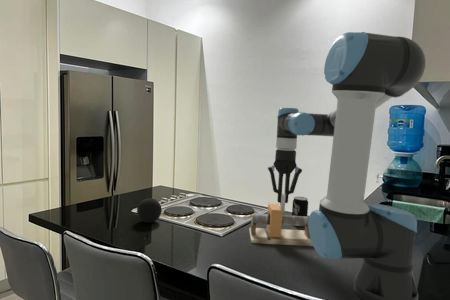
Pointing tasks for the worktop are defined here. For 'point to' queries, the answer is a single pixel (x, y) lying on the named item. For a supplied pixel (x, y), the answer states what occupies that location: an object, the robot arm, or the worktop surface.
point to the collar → (274, 220)
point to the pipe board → (286, 235)
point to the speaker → (149, 210)
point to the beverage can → (300, 207)
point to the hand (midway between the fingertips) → (282, 211)
